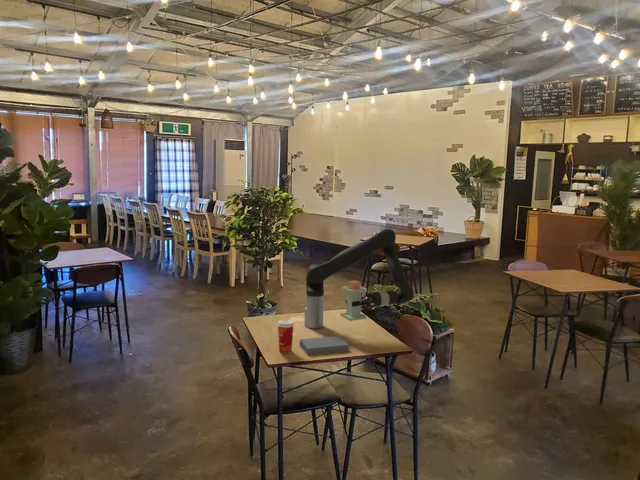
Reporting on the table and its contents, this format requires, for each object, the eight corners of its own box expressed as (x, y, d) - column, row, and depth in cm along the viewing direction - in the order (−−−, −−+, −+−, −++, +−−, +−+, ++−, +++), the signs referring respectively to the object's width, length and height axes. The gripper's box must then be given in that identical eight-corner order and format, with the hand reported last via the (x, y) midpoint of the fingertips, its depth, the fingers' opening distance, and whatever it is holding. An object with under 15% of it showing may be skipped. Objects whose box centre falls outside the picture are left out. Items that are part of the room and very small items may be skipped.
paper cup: (276, 348, 236) (277, 319, 234) (293, 348, 236) (293, 319, 235) (276, 354, 228) (277, 324, 226) (293, 354, 229) (294, 324, 227)
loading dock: (307, 355, 228) (307, 348, 228) (299, 345, 241) (299, 339, 240) (348, 350, 235) (348, 344, 234) (339, 341, 247) (339, 335, 247)
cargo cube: (348, 289, 245) (348, 281, 245) (355, 288, 247) (355, 280, 247) (352, 290, 242) (352, 282, 241) (359, 290, 244) (359, 282, 243)
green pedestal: (340, 315, 248) (341, 286, 246) (356, 313, 253) (356, 284, 251) (350, 320, 241) (351, 290, 238) (366, 318, 245) (367, 288, 243)
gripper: (370, 288, 258) (341, 292, 250) (386, 295, 246) (357, 298, 237) (369, 302, 259) (341, 306, 251) (386, 310, 247) (356, 314, 238)
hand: (349, 302), depth 244 cm, fingers closed on green pedestal, 5 cm apart
